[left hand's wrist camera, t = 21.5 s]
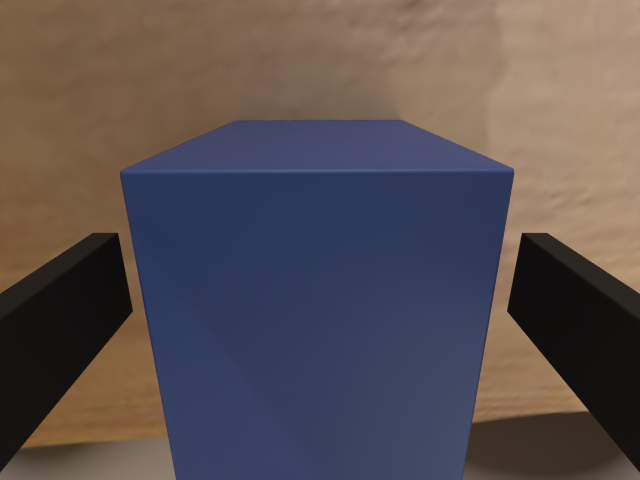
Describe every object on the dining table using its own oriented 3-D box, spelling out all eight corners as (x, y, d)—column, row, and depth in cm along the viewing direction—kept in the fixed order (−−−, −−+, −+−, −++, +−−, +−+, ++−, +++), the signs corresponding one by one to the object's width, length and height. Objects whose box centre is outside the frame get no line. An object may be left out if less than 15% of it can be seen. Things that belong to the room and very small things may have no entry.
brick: (247, 300, 19) (178, 504, 10) (233, 120, 16) (116, 169, 7) (391, 299, 19) (459, 503, 10) (403, 119, 16) (517, 168, 7)
